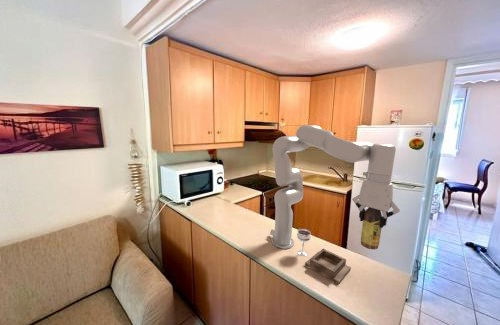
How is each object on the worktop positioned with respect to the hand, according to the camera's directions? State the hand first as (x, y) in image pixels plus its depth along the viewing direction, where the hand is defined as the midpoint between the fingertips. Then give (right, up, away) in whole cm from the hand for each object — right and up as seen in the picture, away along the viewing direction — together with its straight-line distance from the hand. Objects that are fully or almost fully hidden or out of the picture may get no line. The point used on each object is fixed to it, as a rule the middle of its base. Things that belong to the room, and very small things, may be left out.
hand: (371, 222), depth 77 cm
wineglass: (-19, -24, +28) cm, 42 cm away
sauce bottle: (0, -10, +2) cm, 10 cm away
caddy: (-10, -26, +18) cm, 33 cm away
